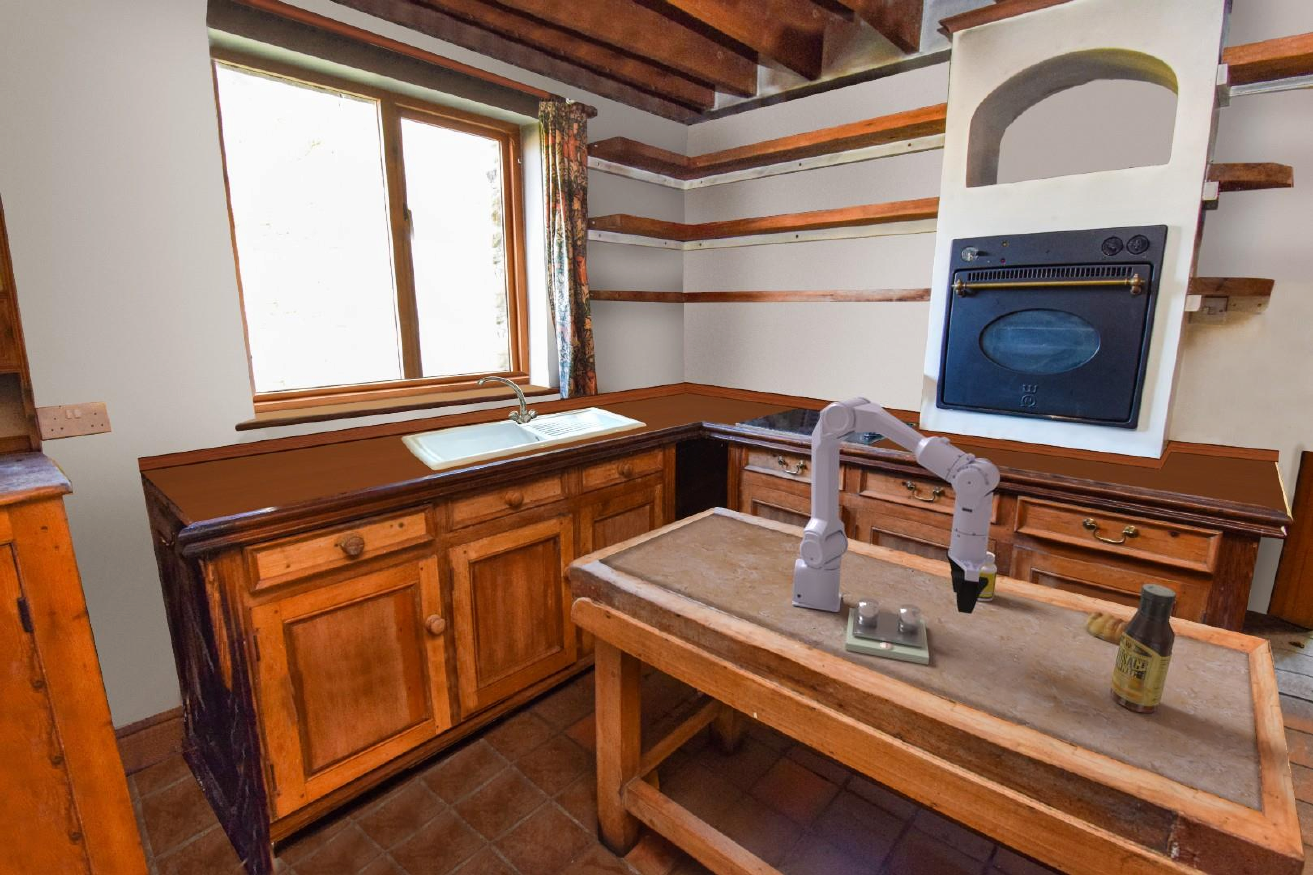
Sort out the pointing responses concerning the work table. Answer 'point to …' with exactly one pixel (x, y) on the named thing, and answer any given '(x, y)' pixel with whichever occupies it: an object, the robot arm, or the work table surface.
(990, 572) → the supplement bottle
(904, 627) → the cylinder
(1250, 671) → the work table surface
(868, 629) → the scale platform
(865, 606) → the cylinder
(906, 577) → the work table surface
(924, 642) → the scale
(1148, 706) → the sauce bottle
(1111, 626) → the pastry
